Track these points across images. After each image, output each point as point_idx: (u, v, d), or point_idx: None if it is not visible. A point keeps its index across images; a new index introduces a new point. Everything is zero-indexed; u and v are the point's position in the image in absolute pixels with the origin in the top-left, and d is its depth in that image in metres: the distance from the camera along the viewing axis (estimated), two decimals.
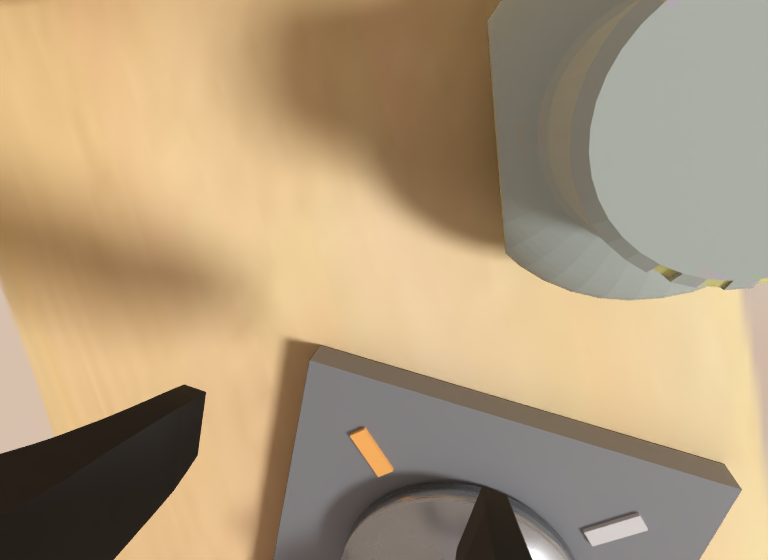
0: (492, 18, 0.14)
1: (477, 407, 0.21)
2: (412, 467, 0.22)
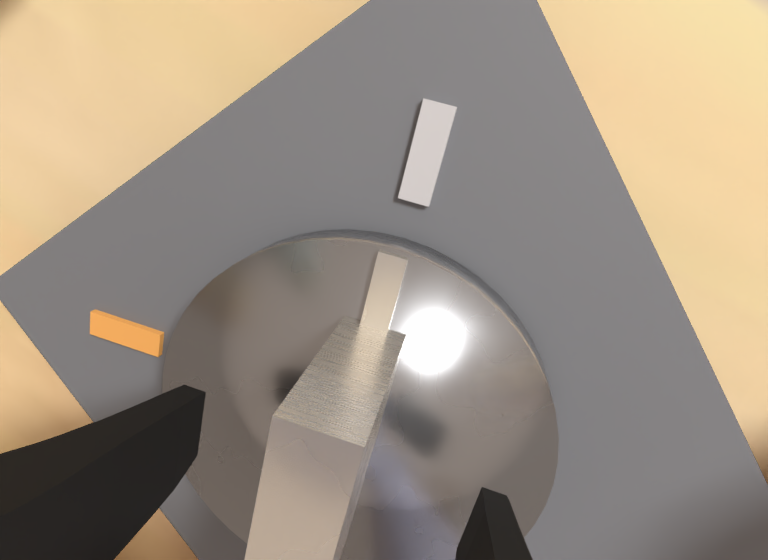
0: None
1: None
2: (175, 311, 0.15)
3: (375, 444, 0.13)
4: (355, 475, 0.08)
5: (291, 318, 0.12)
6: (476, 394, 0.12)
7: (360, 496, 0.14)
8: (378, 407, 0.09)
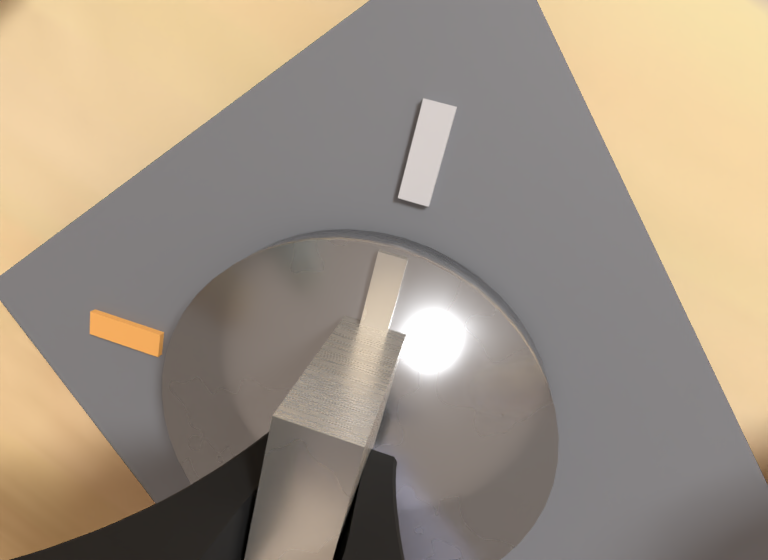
0: None
1: None
2: (175, 311, 0.15)
3: (375, 444, 0.13)
4: (355, 475, 0.08)
5: (291, 318, 0.12)
6: (476, 394, 0.12)
7: None
8: (378, 407, 0.09)
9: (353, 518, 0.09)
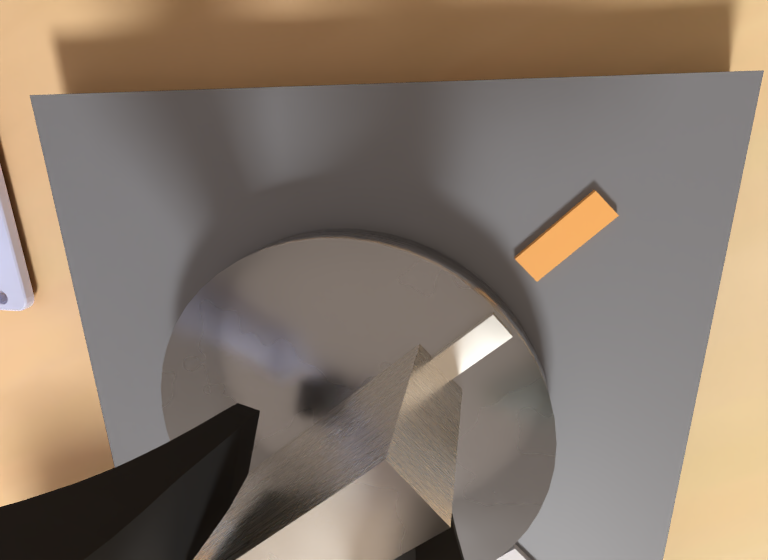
0: None
1: None
2: (548, 309, 0.13)
3: None
4: (422, 541, 0.08)
5: (367, 317, 0.12)
6: (485, 466, 0.13)
7: None
8: (453, 478, 0.09)
9: None
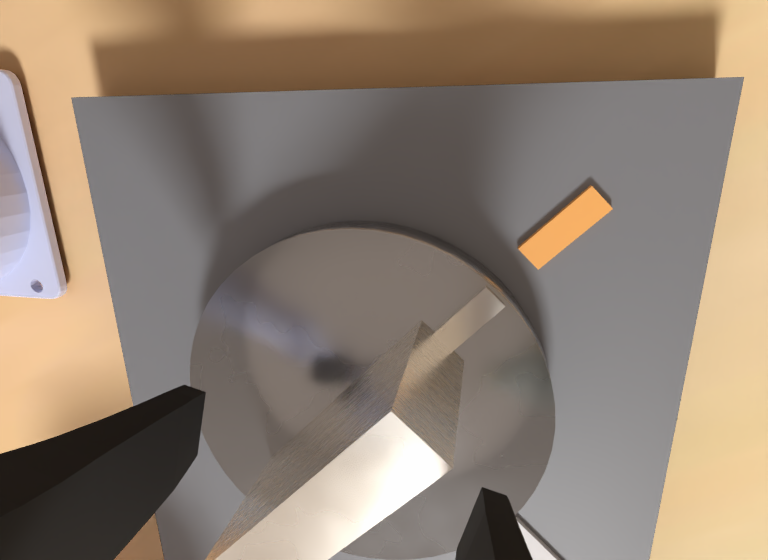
0: None
1: None
2: (549, 295, 0.14)
3: None
4: (429, 483, 0.09)
5: (372, 299, 0.13)
6: (491, 431, 0.14)
7: None
8: (455, 430, 0.10)
9: None
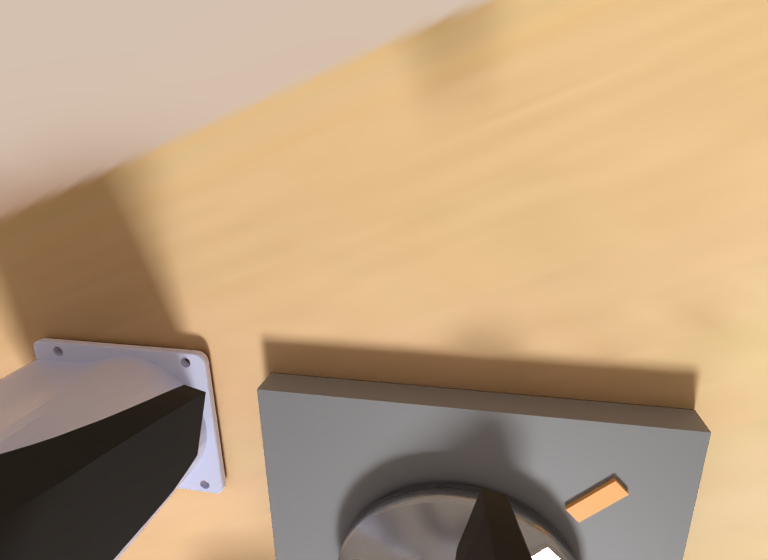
0: None
1: None
2: (585, 535, 0.20)
3: None
4: None
5: None
6: None
7: None
8: None
9: None
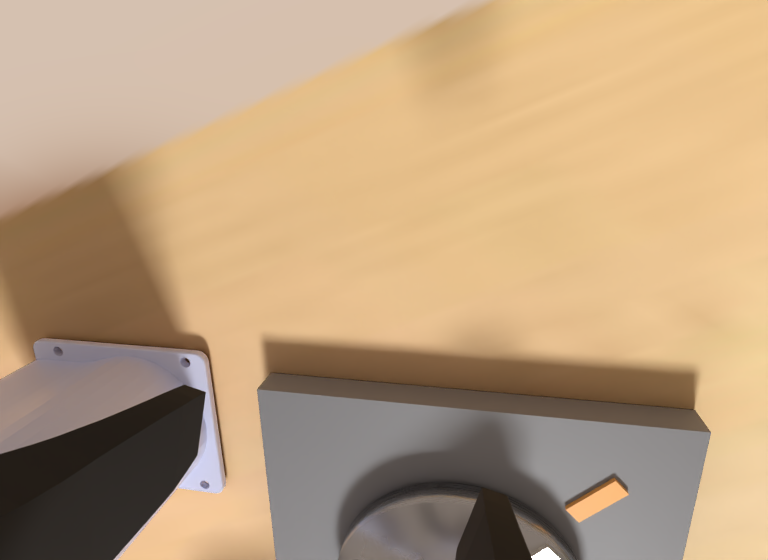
0: None
1: None
2: (585, 535, 0.20)
3: None
4: None
5: None
6: None
7: None
8: None
9: None
